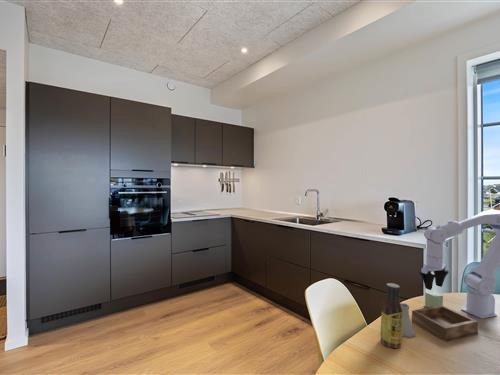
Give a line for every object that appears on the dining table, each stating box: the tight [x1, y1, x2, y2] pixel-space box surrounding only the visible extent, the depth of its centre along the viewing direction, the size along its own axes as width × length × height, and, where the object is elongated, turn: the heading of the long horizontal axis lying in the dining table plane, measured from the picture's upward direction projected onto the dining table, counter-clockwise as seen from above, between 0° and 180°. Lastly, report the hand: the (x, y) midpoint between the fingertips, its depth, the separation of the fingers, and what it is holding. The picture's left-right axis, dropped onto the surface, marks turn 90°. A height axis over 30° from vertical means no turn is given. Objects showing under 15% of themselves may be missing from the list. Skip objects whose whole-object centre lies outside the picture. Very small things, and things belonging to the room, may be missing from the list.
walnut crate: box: [411, 304, 479, 342], centre depth 98 cm, size 16×13×4 cm
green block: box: [424, 290, 444, 308], centre depth 114 cm, size 4×4×6 cm
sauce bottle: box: [380, 282, 403, 349], centre depth 88 cm, size 6×6×20 cm
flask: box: [400, 302, 416, 338], centre depth 95 cm, size 7×7×10 cm
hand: (433, 287), depth 112 cm, fingers open, 7 cm apart
